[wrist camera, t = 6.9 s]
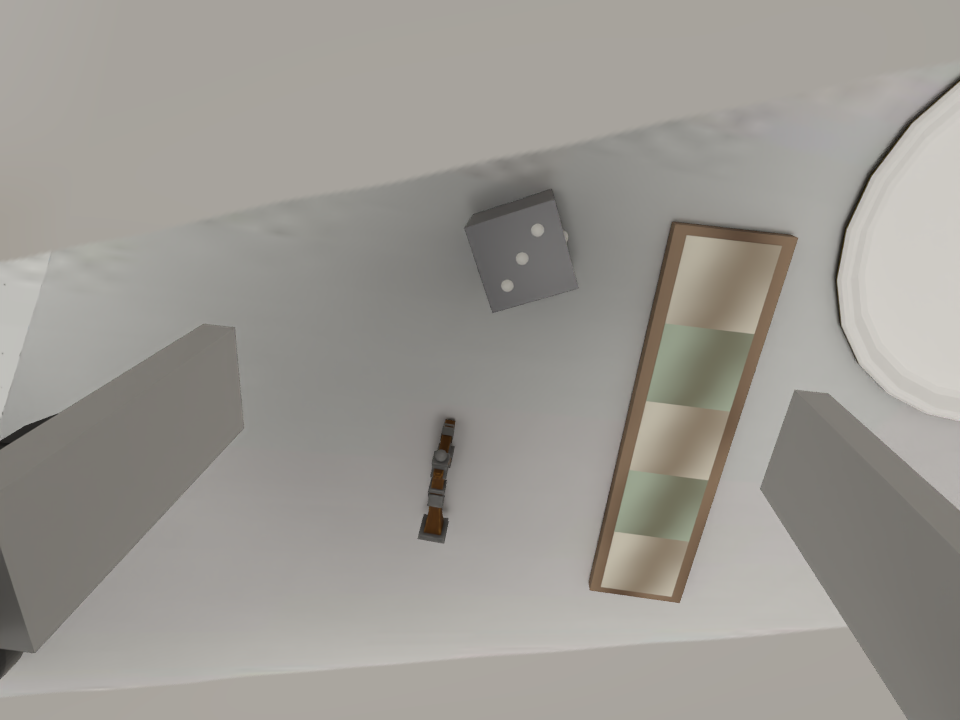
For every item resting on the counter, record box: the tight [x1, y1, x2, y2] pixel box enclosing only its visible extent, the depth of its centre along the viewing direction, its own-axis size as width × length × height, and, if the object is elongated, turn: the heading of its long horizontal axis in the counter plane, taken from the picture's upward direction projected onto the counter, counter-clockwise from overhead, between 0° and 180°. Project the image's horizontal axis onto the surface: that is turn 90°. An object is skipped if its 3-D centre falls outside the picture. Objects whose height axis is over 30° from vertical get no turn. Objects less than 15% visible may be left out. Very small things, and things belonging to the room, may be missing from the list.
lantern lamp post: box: [418, 419, 455, 544], centre depth 36 cm, size 4×2×8 cm
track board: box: [589, 222, 798, 603], centre depth 35 cm, size 6×26×1 cm, turn 174°
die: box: [464, 189, 578, 313], centre depth 29 cm, size 5×4×5 cm
